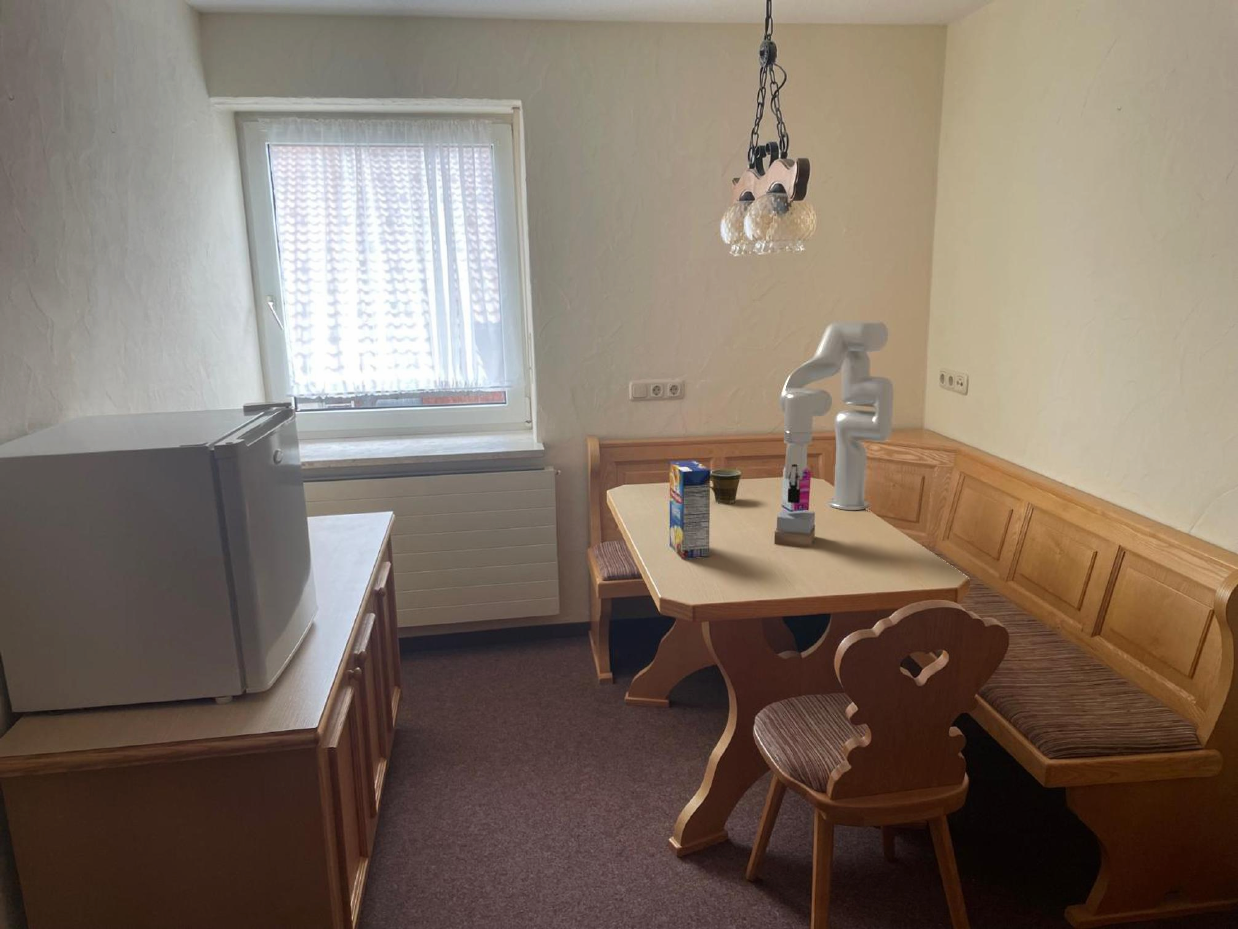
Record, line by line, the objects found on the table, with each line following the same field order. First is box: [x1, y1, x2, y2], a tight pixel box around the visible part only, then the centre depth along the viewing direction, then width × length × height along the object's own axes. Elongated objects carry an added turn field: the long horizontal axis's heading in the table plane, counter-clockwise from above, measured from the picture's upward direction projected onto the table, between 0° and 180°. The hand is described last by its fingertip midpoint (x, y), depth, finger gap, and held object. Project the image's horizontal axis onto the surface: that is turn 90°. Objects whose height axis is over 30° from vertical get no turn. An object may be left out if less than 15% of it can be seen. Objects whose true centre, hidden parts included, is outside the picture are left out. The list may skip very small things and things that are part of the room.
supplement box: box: [781, 467, 812, 512], centre depth 223 cm, size 6×6×12 cm
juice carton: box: [669, 460, 711, 560], centre depth 216 cm, size 12×8×24 cm, turn 13°
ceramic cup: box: [710, 468, 742, 504], centre depth 267 cm, size 13×10×10 cm
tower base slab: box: [773, 524, 816, 548], centre depth 226 cm, size 10×10×4 cm
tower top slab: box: [776, 508, 816, 534], centre depth 226 cm, size 9×9×4 cm
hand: (795, 498), depth 224 cm, fingers closed on supplement box, 7 cm apart
